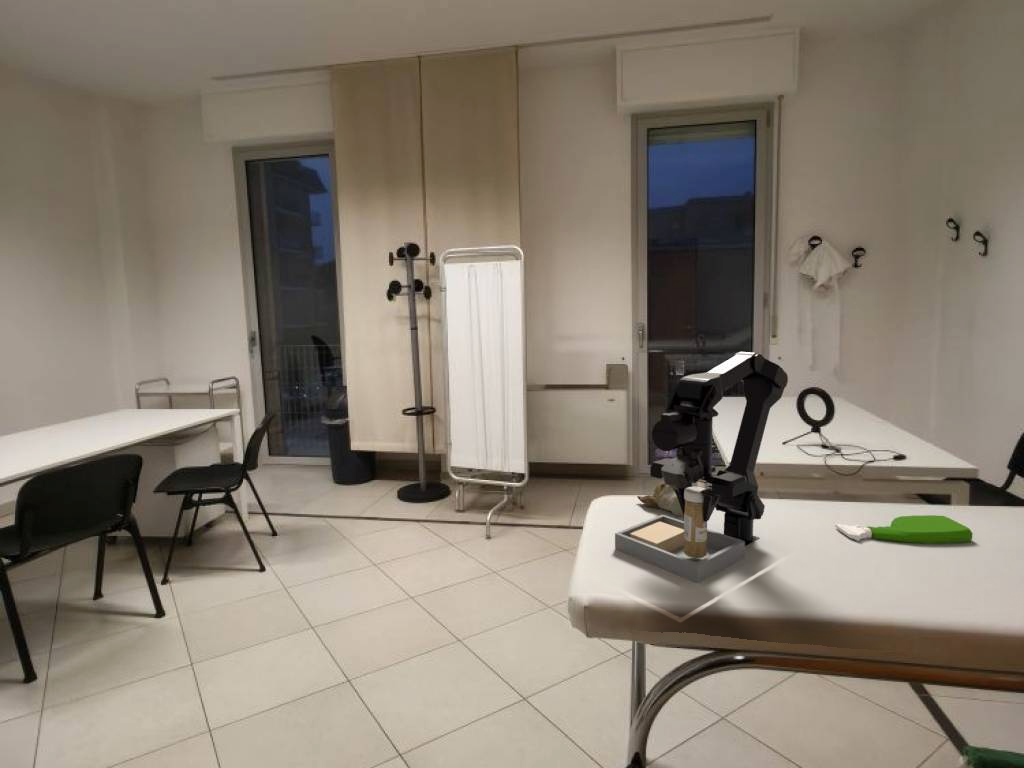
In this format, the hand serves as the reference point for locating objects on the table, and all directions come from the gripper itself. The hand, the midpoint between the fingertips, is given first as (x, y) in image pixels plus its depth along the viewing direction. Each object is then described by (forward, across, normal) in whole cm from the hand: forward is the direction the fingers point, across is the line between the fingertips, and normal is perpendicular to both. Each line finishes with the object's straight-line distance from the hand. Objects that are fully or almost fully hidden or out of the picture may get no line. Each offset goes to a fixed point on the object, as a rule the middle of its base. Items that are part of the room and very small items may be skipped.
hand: (695, 518), depth 115 cm
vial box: (+9, -9, 0) cm, 13 cm away
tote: (+9, -4, 0) cm, 10 cm away
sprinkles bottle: (+8, 0, 0) cm, 8 cm away
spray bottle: (+10, +22, +44) cm, 50 cm away
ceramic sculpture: (+10, -21, +20) cm, 31 cm away
